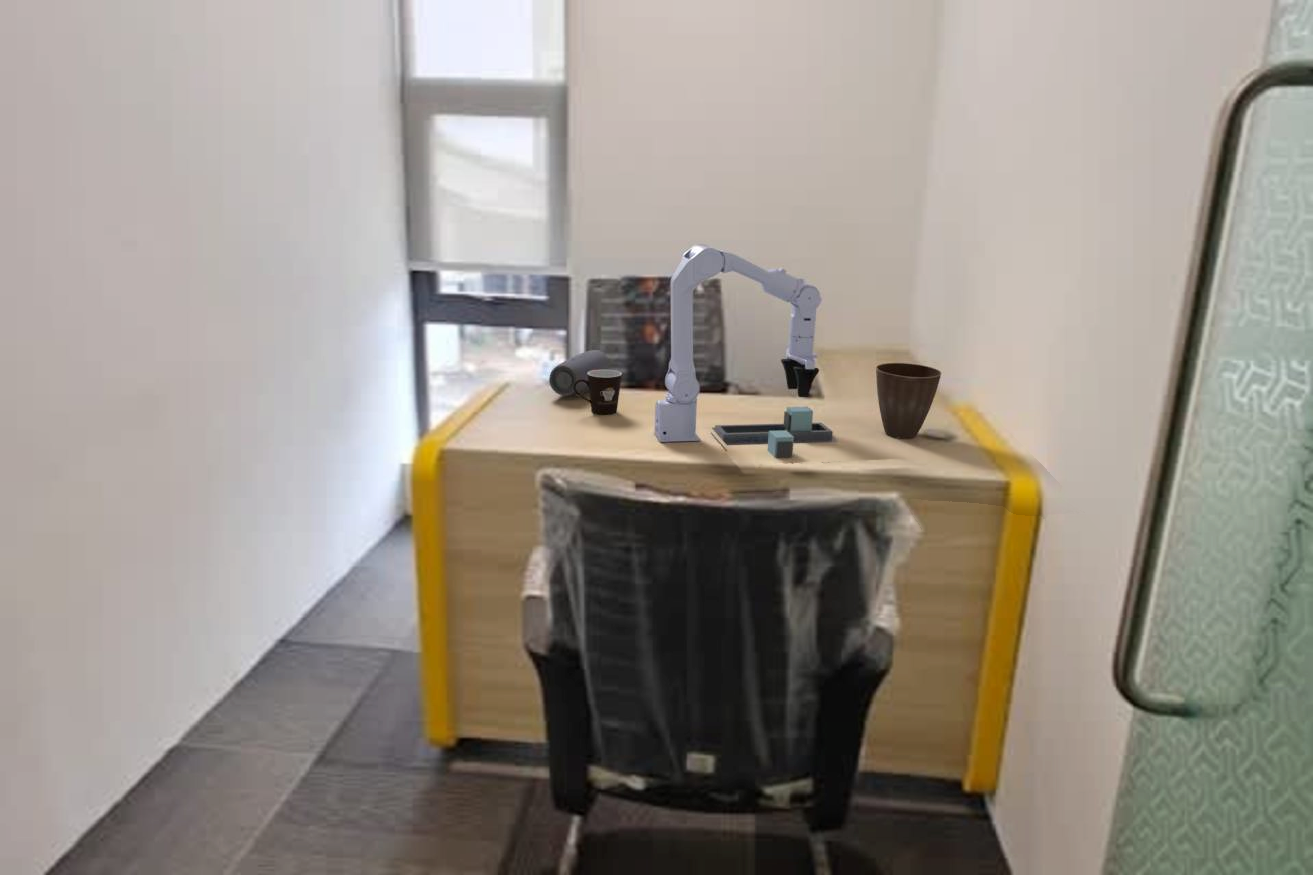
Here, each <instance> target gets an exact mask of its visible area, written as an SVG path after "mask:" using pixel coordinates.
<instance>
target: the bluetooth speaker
mask: <svg viewBox="0 0 1313 875" xmlns="http://www.w3.org/2000/svg"><path fill="white" fill-rule="evenodd" d="M610 365H611V364H610V361H609V358H608V356H607V355H606V354H605V353H604V352H603V351H601V350H598V349H592V350H587V351H585V352H581V353H578V354H576V355H574V356H571V358H570V357H569V358H567V360H564V361H562V362H561V363H559V364H558V365H556V366H555V367H554V368H552V370H551V372H550V375H549V378H548V380H549V385H550V388H551V389H552V390H553V392H554V393H556V394H557V395H559V396H564V397H565V396H579V395H578V394H577V393H576V392H575V391H574V389H573V386H574V383H575V382H576V381H577V380H580V379H584V380H586V381H588V374H587V373H588V372H589V371H593V370H610ZM576 391H577V392H578V393H579V394H580V395H582V394H584V393H585V392H587V391H589V387H588V386H587V384H586V383H585V382H579V383H577V384H576Z"/></svg>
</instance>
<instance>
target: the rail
mask: <svg viewBox="0 0 1313 875" xmlns="http://www.w3.org/2000/svg"><path fill="white" fill-rule="evenodd" d="M783 426H784V423H757V424H756V423H751V424H718V425H717V424H716V425H715V426H714V427H711V429H712V431H714V432H715V433H716V435H717V436H718V437H719V438H720V440H722V442H723V443H724V444H725V445H726V446H742V445H743V446H745V445H747V446H751V445H753V446H755V445H768V435H769V431H782V430H785V427H783ZM788 432H789V433H790V434H791V435H792V436H793V437H794V441H793V444H815V443H816V444H817V443H819V444H820V443H822V444H823V443H838V440H836V439H834V437H833V435H834V434H833V433H834V432H833V430H832V429H830V428H829V427H827V425H825V424H823V423H822V422H812V431H788ZM710 435H712V437H713V438H714V439H715V440H716V441H717V442H718V443H719V445H720V444H721V445H720V446H721V447H722V448H723V450H725V452H726V451H728V450H727V449H726V447H724V446H723V444H722V443H721V442H720V441H719V440H718V438H717V437H716V436H715V435H714V434H713V433H712V432H711V433H710Z"/></svg>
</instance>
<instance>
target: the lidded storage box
mask: <svg viewBox="0 0 1313 875" xmlns="http://www.w3.org/2000/svg"><path fill="white" fill-rule="evenodd" d="M793 441H794V437H793V436H792V435H791V434H790V433H789V432H788V431H786V430H782V431H769V435H768V444H767V452H769V453H770V454H771V456H773V458H776V459H792V457H793V454H794V453H793V452H794V443H793Z"/></svg>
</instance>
